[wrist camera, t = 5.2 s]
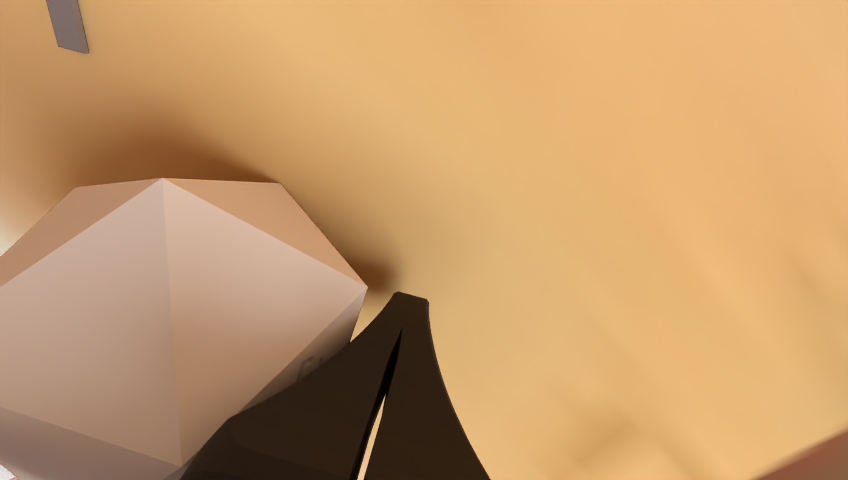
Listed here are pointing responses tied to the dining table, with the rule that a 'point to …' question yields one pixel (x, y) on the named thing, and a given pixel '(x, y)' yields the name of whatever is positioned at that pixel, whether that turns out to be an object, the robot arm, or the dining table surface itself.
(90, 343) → the die
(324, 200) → the dining table surface
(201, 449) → the robot arm
